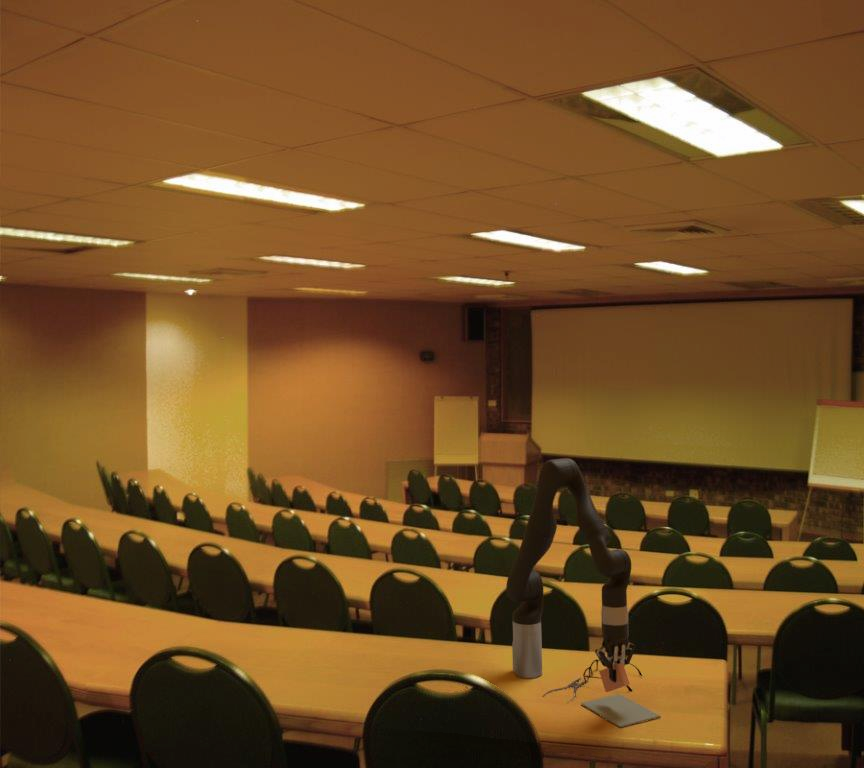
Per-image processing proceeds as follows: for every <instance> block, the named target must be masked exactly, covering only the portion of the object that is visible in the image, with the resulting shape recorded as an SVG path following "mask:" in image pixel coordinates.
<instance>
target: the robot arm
mask: <svg viewBox="0 0 864 768" xmlns="http://www.w3.org/2000/svg"><path fill="white" fill-rule="evenodd" d="M563 489H567V490H568V491H569V493H570V494H571V496H572V497H573V499H574V502H575V503H574V504H575V510H576V511H575V512H576V522H577V526H578V528H579V531H580V532H581V534H582V535H583V537H584V539H585V541H586V542H587V545H588V547H589V551H590V555H591V559H592V561H593V562H592V563H593V565H594V567H595V569H596V571H597V572H598V574H600V575H601V577H602V576H603V577H605V578H609V580H608V581H607V582H605V583H604V584H603V585H602V587H601V611H600V612H601V613H600V615H601V619H600V620H601V636H602V643H601V647H599V649H597V648H596V649H595V650H594V653H595V655H596V656H597V658H598V660H600V661H599V662H600V663H601V665H602V666H603V667H605V668H609V678H610V680H611V681H613V682H616V664H619V663H623V665H624V667H625V666H626V665H630V664H631V660H632V658H633V655H634V653H635V650H636V648H637V645H636V644H633V643H632V642H630V641H629V635H630V634H629V632H630V631H629V611H628V600H627V599H628V597H627V596H628V595H627V590H628V586H629V581H630V577H631V572H632V560H631V557H630V555H629V553H628V552H627V551H626V550H624V549H621V548H616V549H611V550H609V549H608V547H607V545H608V544H609V543H610V542H611V541H612V540H611V539H612V534H611V533H610V531H609V529H608V528H607V526H606V525H605V522H604V521H603V519H602V518H601V515H600V514H599V512H598V510H597V508H596V506H595V504H594V501H593V500H592V496H591V493H590V492H589V488H588V487H587V484H586V483H585V479H584V477H583V473H582V472H581V470H580V467H579V466H578V464H577V463H576V461H574V459H572V458H568V457H566V458H565V457H564V458H554V459H553V458H552V459H548V460H546V461H545V462H543V464H542V466H541V468H540V471H539V475H538V480H537V485H536V489H535V496H534V500H533V504H532V508H531V510H530V515H529V517H528V521H527V523H526V526H525V530H524V534H523V537H522V540H521V544H520V547H519V550H518V552H517V556H516V559H515V561H514V563H513V565H512V568H511V570H510V571H509V574H508V577H507V580H506V586H505V587H506V588H505V589H506V594H507V596H508V598H509V599H510V601H512V602H515V603H520V605H519V606H518V607H517V608H516V609H514V610H513V612H512V642H511V647H512V648H511V650H512V651H511V652H512V671H513V674H514V675H515V677H518V678H524V679H535V678H539V677H541V676H542V675H543V649H542V648H543V647H542V645H543V644H542V641H543V639H542V615H543V612H544V582H543V578H542V577H541V574H540V573H539V572H538V571H537V570H534V568H535V566H536V565H537V564H538V563H539V562H540V560H541V559H542V558H543V557H544V556H545V555H546V553H548V551H549V550H550V548H551V546H552V544H553V541H554V538H555V535H556V532H557V528H558V527H557V526H558V523H557V517H556V515H555V512H554V501H555V499H556V495H557V492H558V491H559V490H563ZM629 663H630V664H629Z"/></svg>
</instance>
